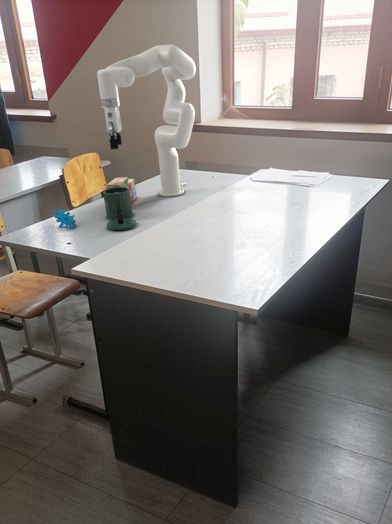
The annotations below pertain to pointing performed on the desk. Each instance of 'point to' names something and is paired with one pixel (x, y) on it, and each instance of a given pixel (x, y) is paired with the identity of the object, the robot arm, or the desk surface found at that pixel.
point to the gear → (65, 219)
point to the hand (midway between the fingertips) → (116, 146)
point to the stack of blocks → (124, 185)
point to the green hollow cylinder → (117, 202)
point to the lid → (121, 222)
